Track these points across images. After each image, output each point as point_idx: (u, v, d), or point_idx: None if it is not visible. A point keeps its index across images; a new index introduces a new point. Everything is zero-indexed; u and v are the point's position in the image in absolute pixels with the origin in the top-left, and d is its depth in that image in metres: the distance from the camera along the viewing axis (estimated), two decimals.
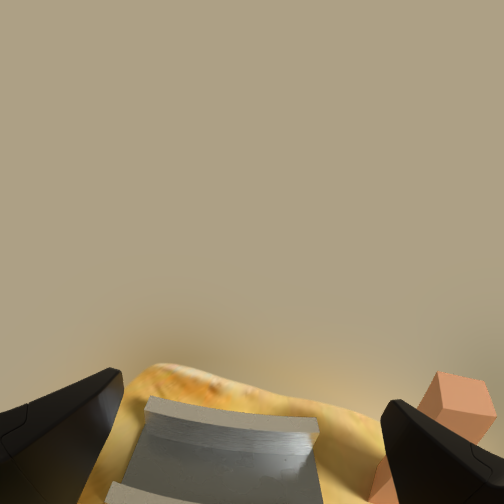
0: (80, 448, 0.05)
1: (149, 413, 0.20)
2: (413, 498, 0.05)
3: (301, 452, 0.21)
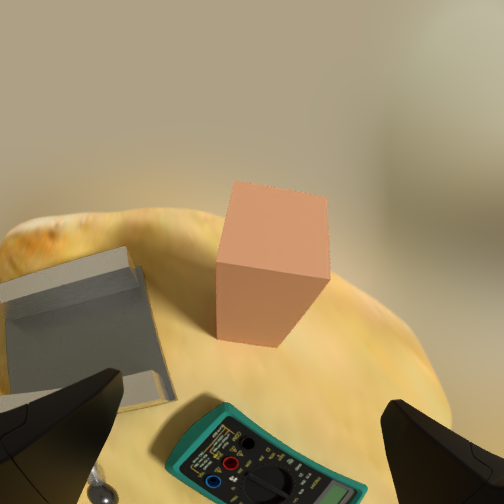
0: (80, 448, 0.05)
1: None
2: (413, 498, 0.05)
3: (129, 287, 0.22)
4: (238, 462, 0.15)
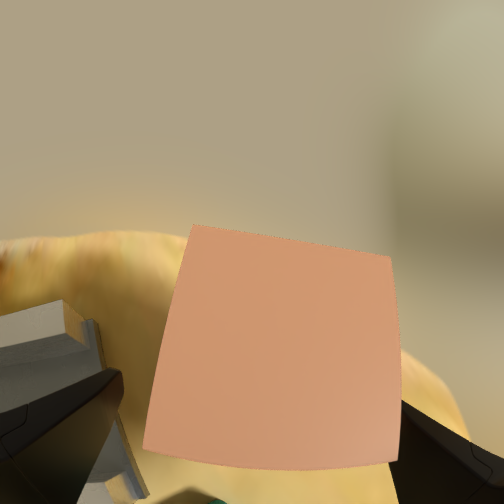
0: (80, 448, 0.05)
1: None
2: (413, 498, 0.05)
3: (77, 350, 0.14)
4: None
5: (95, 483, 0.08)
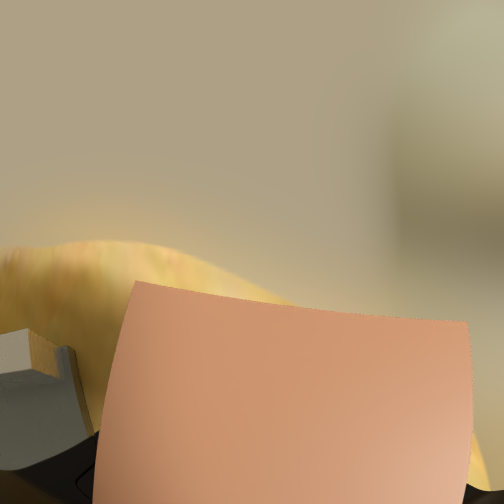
0: None
1: None
2: None
3: (51, 381, 0.11)
4: None
5: None
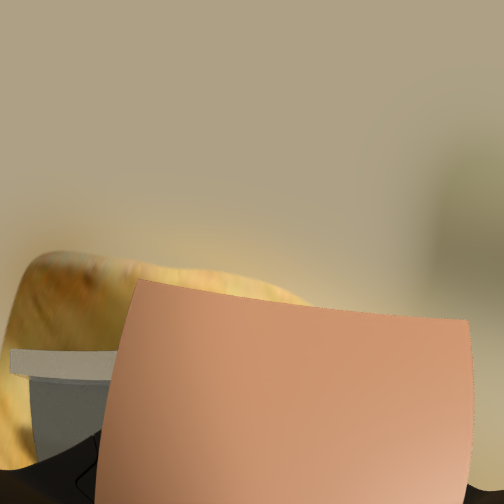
0: None
1: (16, 374, 0.14)
2: None
3: None
4: None
5: None
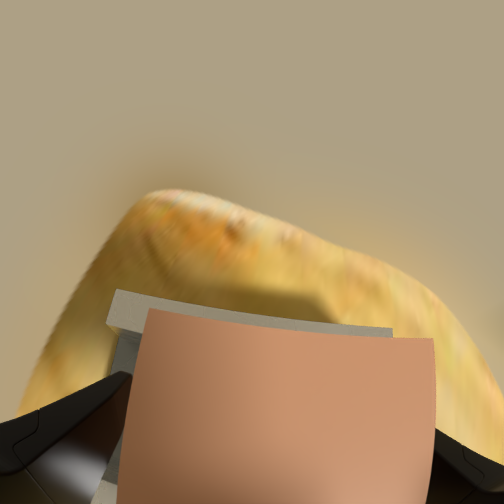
0: (92, 453, 0.05)
1: (115, 327, 0.13)
2: None
3: None
4: None
5: None
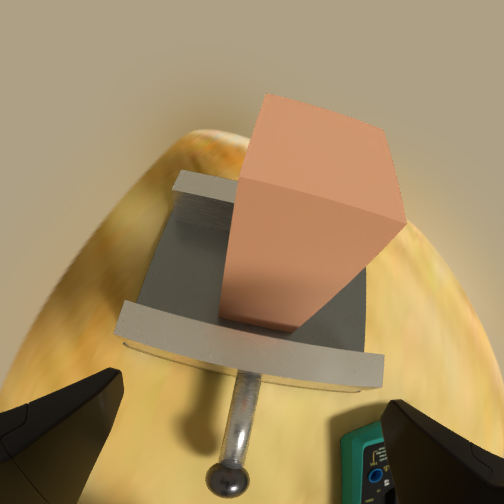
0: (80, 448, 0.05)
1: (178, 193, 0.18)
2: (413, 498, 0.05)
3: None
4: None
5: (376, 354, 0.14)
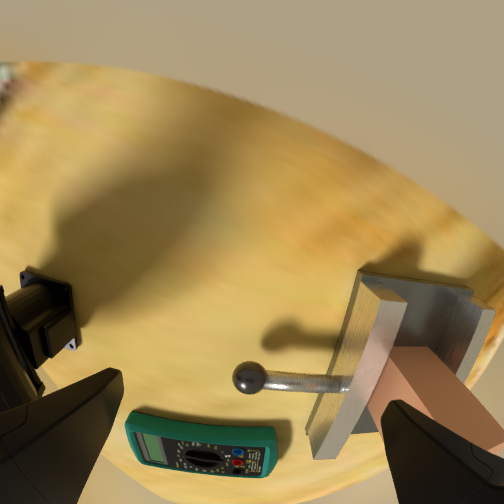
0: (80, 448, 0.05)
1: (479, 313, 0.16)
2: (413, 498, 0.05)
3: None
4: (233, 463, 0.21)
5: None
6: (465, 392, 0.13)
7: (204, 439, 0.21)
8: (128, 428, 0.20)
